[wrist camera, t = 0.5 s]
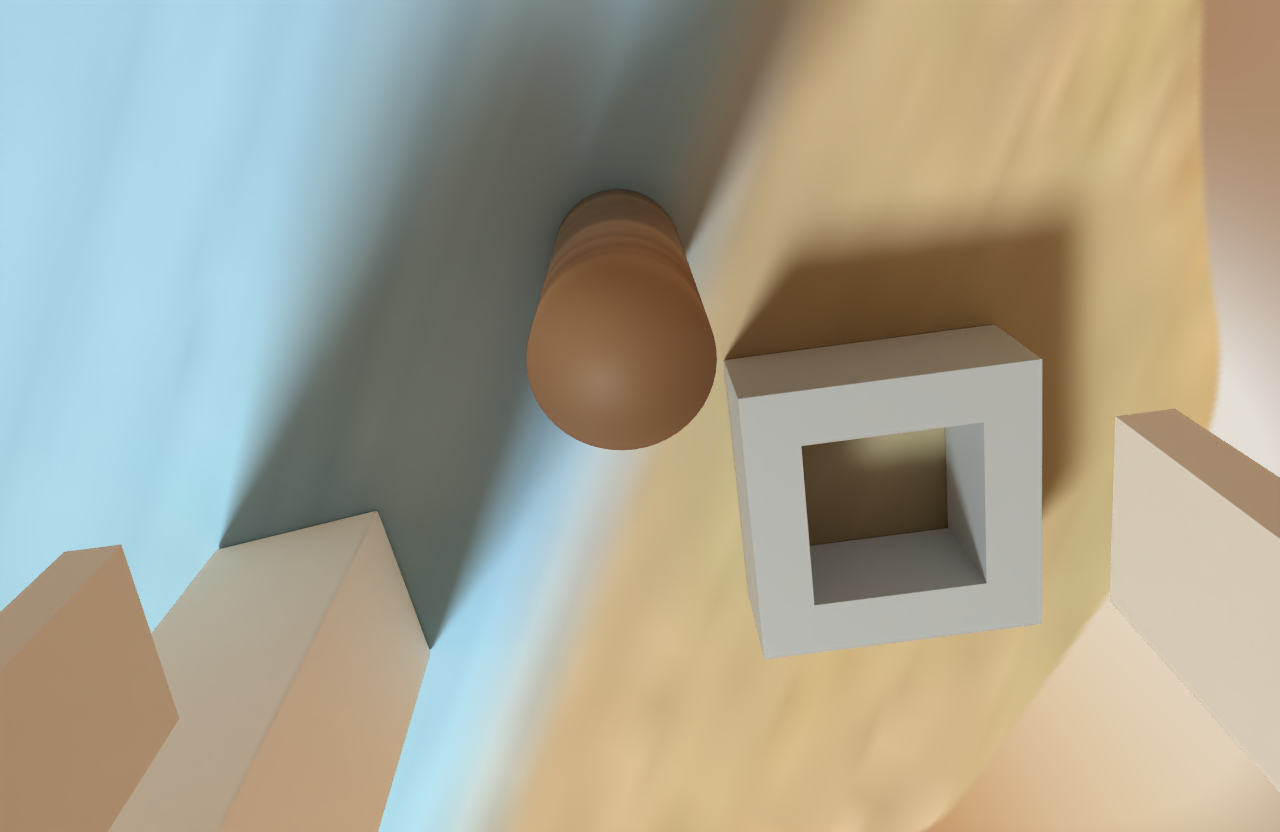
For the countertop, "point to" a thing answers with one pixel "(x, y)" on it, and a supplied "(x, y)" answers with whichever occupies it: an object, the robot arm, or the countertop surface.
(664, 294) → the peg
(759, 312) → the countertop surface
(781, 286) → the countertop surface
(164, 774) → the milk
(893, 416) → the socket block
